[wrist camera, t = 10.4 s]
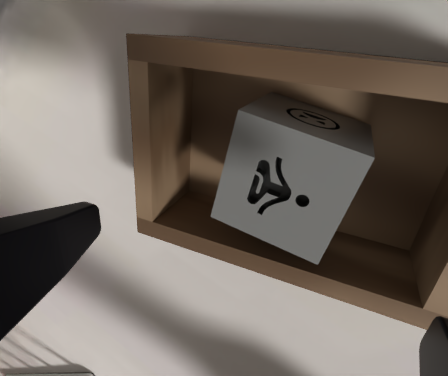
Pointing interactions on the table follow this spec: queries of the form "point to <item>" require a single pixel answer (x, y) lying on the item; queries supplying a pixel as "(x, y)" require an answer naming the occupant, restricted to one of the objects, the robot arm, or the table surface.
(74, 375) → the file sorter
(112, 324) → the table surface
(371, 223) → the open wooden box
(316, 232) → the dice cube
